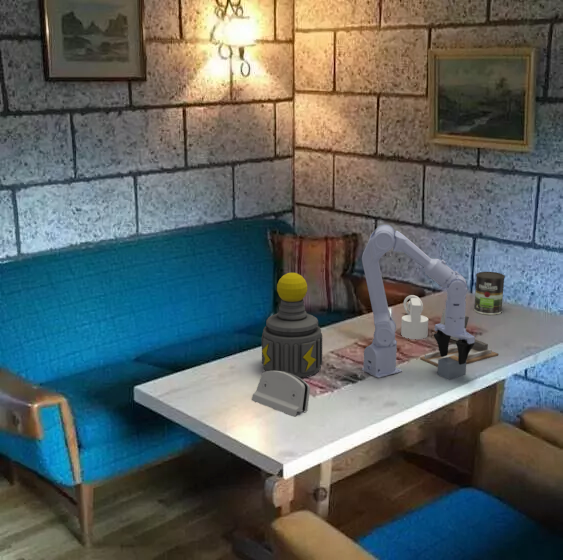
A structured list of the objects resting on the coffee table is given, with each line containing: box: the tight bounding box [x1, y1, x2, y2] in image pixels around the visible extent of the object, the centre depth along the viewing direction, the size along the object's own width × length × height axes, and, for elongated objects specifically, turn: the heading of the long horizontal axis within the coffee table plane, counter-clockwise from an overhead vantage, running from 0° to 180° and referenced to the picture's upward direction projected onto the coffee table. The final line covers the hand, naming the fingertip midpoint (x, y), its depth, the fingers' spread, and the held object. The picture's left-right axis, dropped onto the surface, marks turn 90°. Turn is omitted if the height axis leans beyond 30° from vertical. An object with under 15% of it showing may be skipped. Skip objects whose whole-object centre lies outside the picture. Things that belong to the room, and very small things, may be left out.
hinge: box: [251, 370, 311, 418], centre depth 213 cm, size 17×5×10 cm, turn 47°
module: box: [437, 355, 467, 380], centre depth 233 cm, size 7×4×5 cm, turn 122°
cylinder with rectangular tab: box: [400, 297, 429, 340], centre depth 267 cm, size 9×9×12 cm
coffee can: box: [473, 271, 506, 316], centre depth 294 cm, size 10×10×14 cm
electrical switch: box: [439, 307, 470, 342], centre depth 266 cm, size 9×5×9 cm, turn 35°
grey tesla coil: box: [261, 272, 323, 379], centre depth 236 cm, size 19×19×30 cm
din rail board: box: [419, 339, 499, 368], centre depth 247 cm, size 23×11×4 cm, turn 122°
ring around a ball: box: [402, 294, 424, 315], centre depth 289 cm, size 8×6×8 cm
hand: (452, 359), depth 232 cm, fingers open, 7 cm apart
